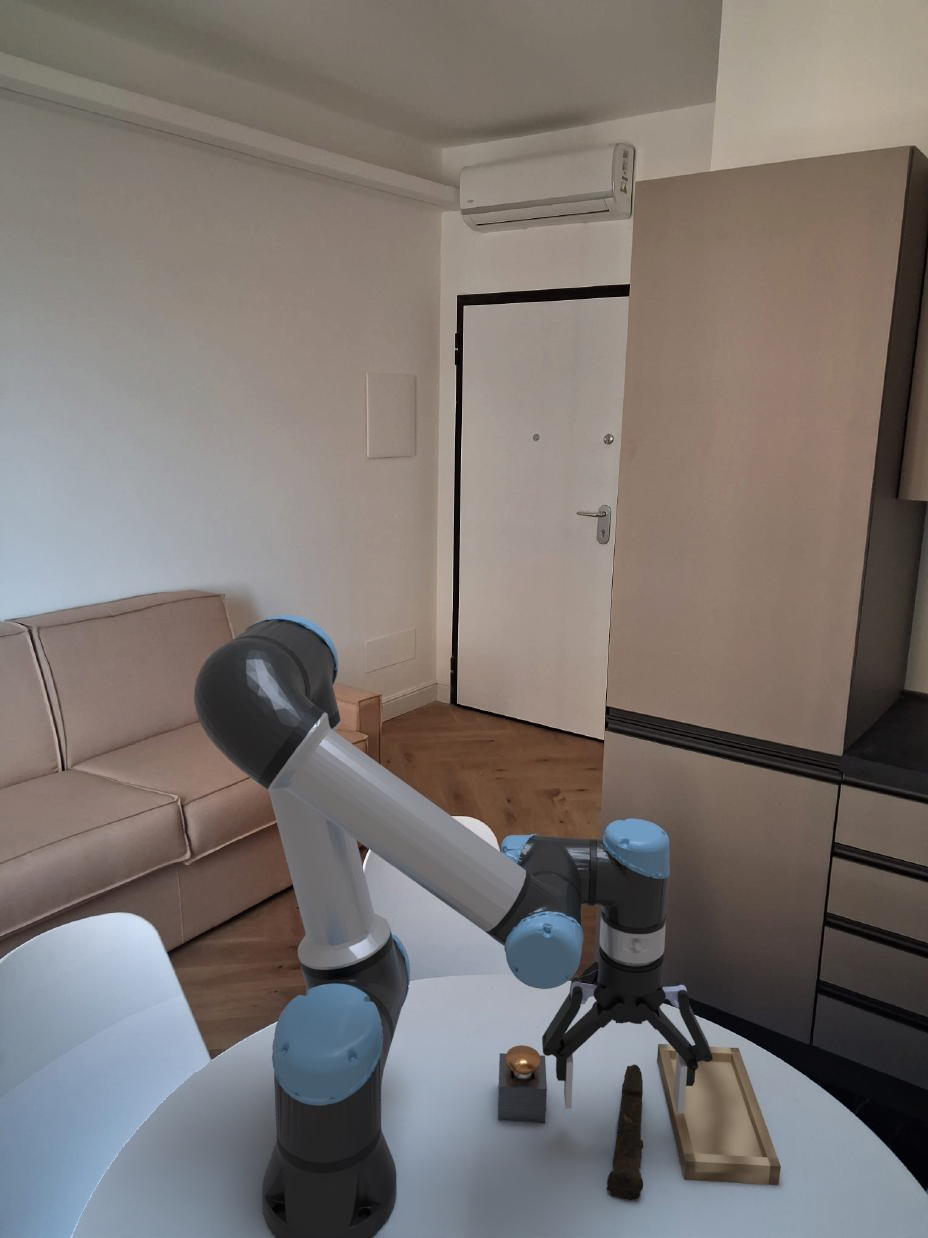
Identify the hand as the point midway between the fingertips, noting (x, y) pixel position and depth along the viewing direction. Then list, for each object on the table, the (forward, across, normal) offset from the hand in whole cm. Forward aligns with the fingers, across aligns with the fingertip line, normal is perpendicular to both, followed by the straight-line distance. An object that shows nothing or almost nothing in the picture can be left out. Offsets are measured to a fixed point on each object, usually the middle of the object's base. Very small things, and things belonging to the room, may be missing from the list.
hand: (623, 1103), depth 111 cm
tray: (+5, +12, +4) cm, 14 cm away
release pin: (+5, -12, +5) cm, 14 cm away
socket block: (+5, -12, +4) cm, 14 cm away
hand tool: (+5, 0, 0) cm, 5 cm away
